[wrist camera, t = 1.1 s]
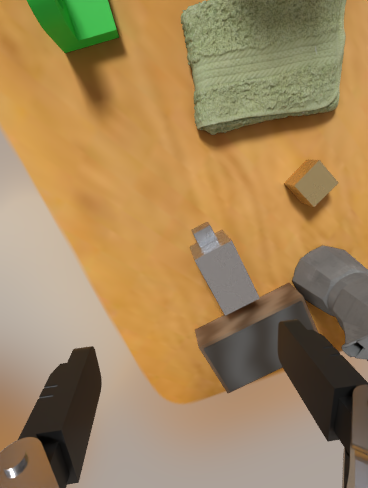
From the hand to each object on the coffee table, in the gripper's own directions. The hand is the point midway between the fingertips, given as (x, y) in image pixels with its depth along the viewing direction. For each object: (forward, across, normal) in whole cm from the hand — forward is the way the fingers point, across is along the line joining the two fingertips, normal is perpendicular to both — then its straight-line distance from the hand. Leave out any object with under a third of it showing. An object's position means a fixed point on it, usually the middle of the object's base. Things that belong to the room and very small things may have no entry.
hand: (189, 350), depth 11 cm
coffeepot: (+25, -23, +10) cm, 36 cm away
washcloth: (+25, -13, -17) cm, 33 cm away
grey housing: (+25, -7, +7) cm, 26 cm away
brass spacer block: (+25, -19, -3) cm, 31 cm away
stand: (+25, -12, +19) cm, 33 cm away
